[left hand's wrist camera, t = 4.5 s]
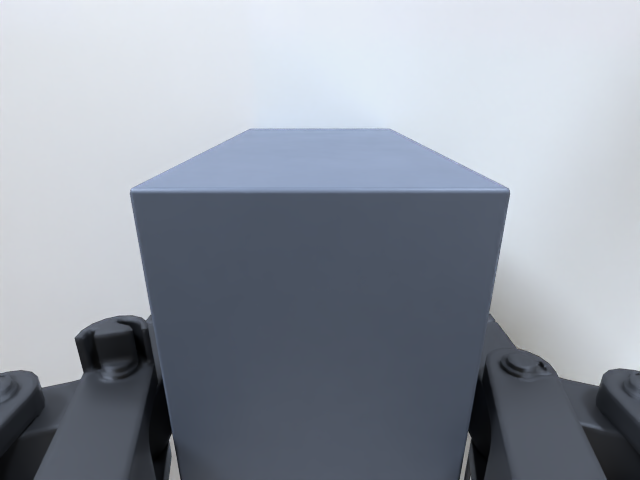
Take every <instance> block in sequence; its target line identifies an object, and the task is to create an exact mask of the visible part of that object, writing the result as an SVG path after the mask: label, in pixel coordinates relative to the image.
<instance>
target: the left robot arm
mask: <svg viewBox="0 0 640 480" xmlns="http://www.w3.org/2000/svg"><path fill="white" fill-rule="evenodd" d="M75 342H76V345H77V349H78V353H79V357H80V361H81V364H82V368H83V372H84V374H83V376H82V378H81V379H80V380H76V381H73V382H68V383H63V384H58V385H54V386H49V387H44V388H41V385H40V382H39V379H38V376H36V375H35V374H34V373H33V372H30V371H23V370H19V371H10V372H4V373H0V480H169V473H170V465H171V457H172V456H171V449H170V443H169V438H170V436H171V434H172V428H171V422H170V417H169V411H168V405H167V400H166V394H165V388H164V383H163V377H162V372H161V366H160V360H159V355H158V349H157V343H156V338H155V332H154V326H153V321H152V315H150V316H149V318H148V319H147V320H146V321H145V320H144V319H143V318H141V317H137V316H132V315H130V316H116V317H111V318H106V319H104V320H101V321H98V322H96V323H93V324H91V325H90V326H88V327H86V328H85V329H83V330H82V331H81V332H80V333H79V334H78V335H77V336H76V337H75ZM468 431H469V434H470V436H471V443H470V449H469V454H468V460H467V465H466V471H465V477H464V480H470V476H471V480H640V371H636V370H628V369H613V370H609V371H607V372H606V373H605V374H604V375H603V377H602V380H601V383H600V386H595V385H590V384H585V383H581V382H576V381H571V380H567V379H563V378H559V377H558V375H557V373H556V372H555V370H554V369H553V368H552V366H551V365H550V364H549V363H547V362H546V361H545V360H543V359H542V358H540V357H539V356H537V355H534V354H532V353H530V352H528V351H524V350H520V349H517V348H516V347H515V345H514V344H513V343H512V341H511V340H510V339H509V338H508V336H507V335H506V334H505V332H504V331H503V330H502V328H501V327H500V326H499V325H498V323H497V322H495V319H494V318H493V317H492V316H491V314H489V315H488V321H487V327H486V332H485V338H484V344H483V349H482V355H481V361H480V366H479V372H478V378H477V383H476V389H475V395H474V400H473V406H472V412H471V417H470V423H469V428H468Z"/></svg>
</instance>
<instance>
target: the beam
mask: <svg viewBox="0 0 640 480" xmlns="http://www.w3.org/2000/svg"><path fill="white" fill-rule="evenodd" d="M130 196H131V202H132V208H133V213H134V219H135V225H136V230H137V236H138V242H139V247H140V253H141V259H142V264H143V270H144V276H145V281H146V287H147V292H148V298H149V304H150V309H151V315H152V321H153V326H154V332H155V338H156V343H157V349H158V355H159V360H160V366H161V372H162V377H163V383H164V388H165V394H166V400H167V405H168V411H169V417H170V422H171V428H172V434H173V439H174V445H175V451H176V456H177V462H178V468H179V473H180V479H181V480H459V479H460V474H461V468H462V462H463V457H464V451H465V445H466V440H467V434H468V428H469V423H470V417H471V412H472V406H473V400H474V395H475V389H476V383H477V378H478V372H479V366H480V361H481V355H482V349H483V344H484V338H485V332H486V327H487V321H488V315H489V310H490V304H491V298H492V293H493V287H494V281H495V276H496V270H497V265H498V259H499V253H500V248H501V242H502V236H503V231H504V225H505V219H506V214H507V208H508V202H509V197H510V190H509V188H507V187H505V186H503V185H501V184H499V183H497V182H495V181H493V180H491V179H489V178H487V177H485V176H483V175H481V174H479V173H477V172H475V171H473V170H471V169H469V168H467V167H465V166H463V165H461V164H459V163H457V162H455V161H453V160H451V159H449V158H447V157H445V156H443V155H441V154H439V153H437V152H435V151H433V150H431V149H429V148H427V147H425V146H423V145H421V144H419V143H417V142H415V141H413V140H411V139H409V138H407V137H405V136H403V135H401V134H399V133H397V132H395V131H393V130H391V129H249V130H247V131H245V132H243V133H241V134H239V135H237V136H235V137H233V138H231V139H229V140H227V141H225V142H223V143H221V144H219V145H217V146H215V147H213V148H211V149H209V150H207V151H205V152H203V153H201V154H199V155H197V156H195V157H193V158H191V159H189V160H187V161H185V162H183V163H181V164H179V165H177V166H175V167H173V168H171V169H169V170H167V171H165V172H163V173H161V174H159V175H157V176H155V177H153V178H151V179H149V180H147V181H145V182H143V183H141V184H139V185H137V186H135V187H133V188H131V190H130Z"/></svg>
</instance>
